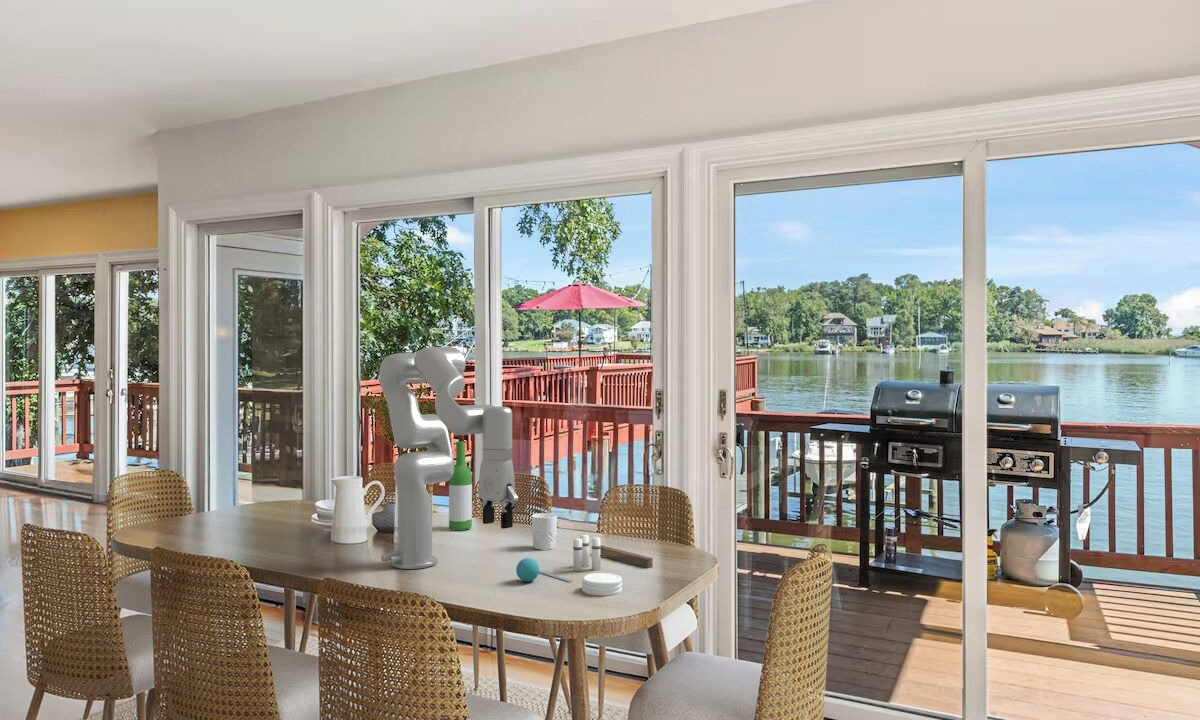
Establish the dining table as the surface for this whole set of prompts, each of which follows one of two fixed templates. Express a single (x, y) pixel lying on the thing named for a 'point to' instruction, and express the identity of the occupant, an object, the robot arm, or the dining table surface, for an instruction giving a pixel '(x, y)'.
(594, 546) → the pin back right
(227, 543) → the dining table surface
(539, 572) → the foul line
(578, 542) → the pin front
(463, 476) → the wine bottle
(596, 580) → the coaster
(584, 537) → the pin back left
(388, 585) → the dining table surface
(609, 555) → the backstop
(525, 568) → the ball
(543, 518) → the white cup
